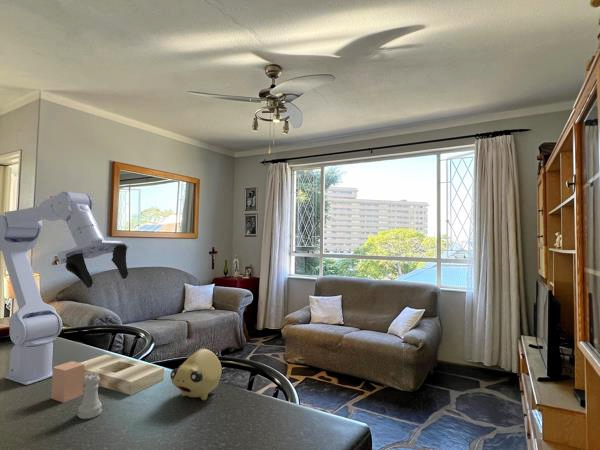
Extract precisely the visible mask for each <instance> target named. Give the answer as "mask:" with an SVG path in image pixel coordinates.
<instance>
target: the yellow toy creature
mask: <svg viewBox="0 0 600 450" xmlns="http://www.w3.org/2000/svg"><path fill="white" fill-rule="evenodd" d="M221 377H222V364H221V361H220V360H219V358H218V356H217V354H215V353H214V352H213V351H211V350H210V349H207V348H200V349H198V350H197V351H195V352H194V353H193V354H191V355H190V356H188V358H187V359H186V360H185V361H184V362H183V363H182V364H181V365H179V366H178V368H177V367H176V368H173V370H172V371H171V372H170V380H171V381H170V382H171V383H172V384H173V386H174V387H176V388H177V389H179V391H180V392H181V395H182V396H183V397H186V396H187V397H190V398H200V399H201V400H202V401H206V400H207V399H208V395H209V393H211V392H212V391H213V390H214V389H215V388H216V387H218V386H219V383H220V380H221Z"/></svg>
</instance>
